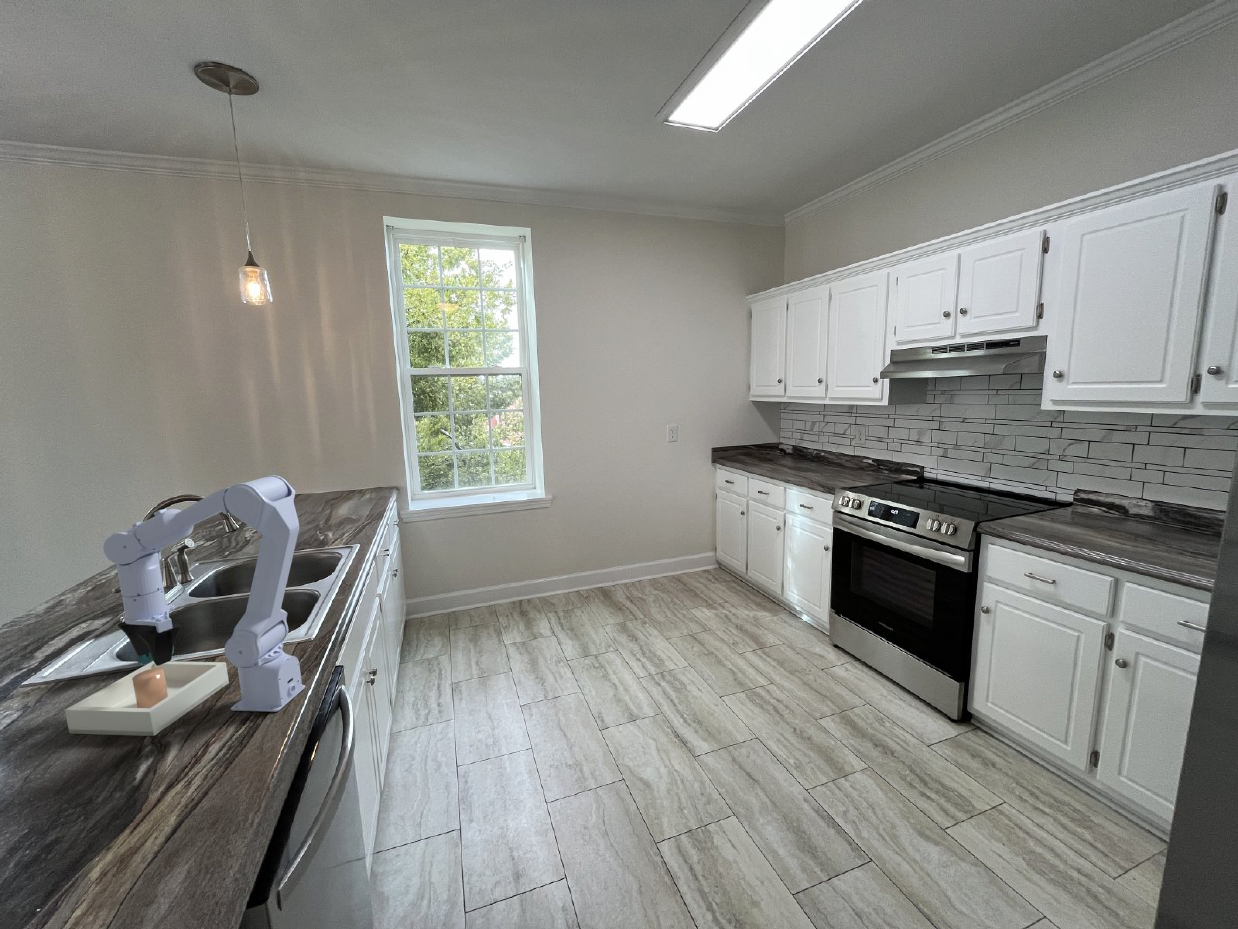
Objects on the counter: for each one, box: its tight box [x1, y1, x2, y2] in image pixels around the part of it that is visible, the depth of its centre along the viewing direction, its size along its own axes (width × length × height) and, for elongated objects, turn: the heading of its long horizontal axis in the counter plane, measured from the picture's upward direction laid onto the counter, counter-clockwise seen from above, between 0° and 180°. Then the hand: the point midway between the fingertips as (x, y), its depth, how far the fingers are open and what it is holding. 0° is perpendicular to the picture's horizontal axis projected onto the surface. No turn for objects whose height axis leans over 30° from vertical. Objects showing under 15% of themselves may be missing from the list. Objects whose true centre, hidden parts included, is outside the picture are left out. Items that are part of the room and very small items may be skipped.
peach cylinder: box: [132, 668, 168, 708], centre depth 96 cm, size 4×4×6 cm
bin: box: [64, 660, 230, 737], centre depth 97 cm, size 16×16×5 cm
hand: (154, 658), depth 97 cm, fingers open, 7 cm apart
